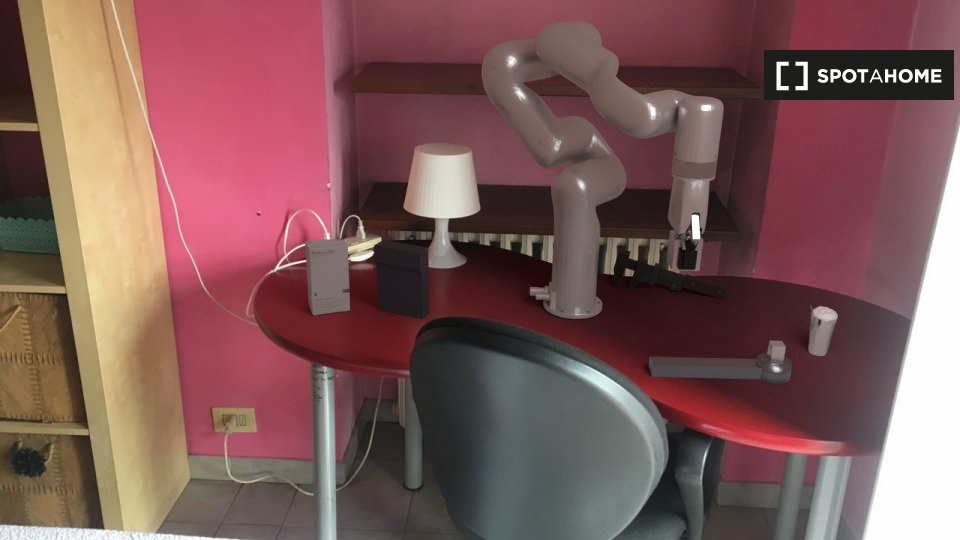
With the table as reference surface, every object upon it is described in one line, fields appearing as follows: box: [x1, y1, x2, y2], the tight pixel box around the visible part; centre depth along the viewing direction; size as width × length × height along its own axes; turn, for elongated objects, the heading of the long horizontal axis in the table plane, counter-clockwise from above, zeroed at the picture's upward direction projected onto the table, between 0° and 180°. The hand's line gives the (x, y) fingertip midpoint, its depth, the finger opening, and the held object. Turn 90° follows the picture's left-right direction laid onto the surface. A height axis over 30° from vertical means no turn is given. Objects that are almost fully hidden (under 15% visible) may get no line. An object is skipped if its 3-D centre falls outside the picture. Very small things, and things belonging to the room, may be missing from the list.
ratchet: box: [648, 340, 793, 385], centre depth 137 cm, size 25×6×6 cm, turn 88°
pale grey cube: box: [666, 230, 704, 272], centre depth 140 cm, size 5×5×6 cm
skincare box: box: [304, 238, 351, 317], centre depth 159 cm, size 8×6×15 cm
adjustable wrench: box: [612, 247, 728, 299], centre depth 171 cm, size 8×3×25 cm
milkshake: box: [807, 304, 839, 357], centre depth 144 cm, size 5×5×10 cm
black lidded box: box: [373, 239, 431, 320], centre depth 158 cm, size 11×4×15 cm, turn 65°
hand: (683, 262), depth 141 cm, fingers closed on pale grey cube, 5 cm apart
